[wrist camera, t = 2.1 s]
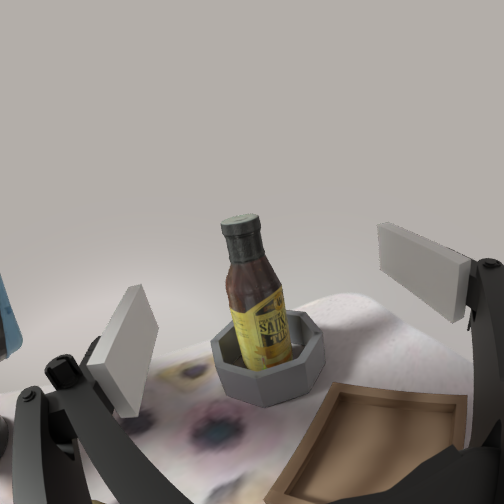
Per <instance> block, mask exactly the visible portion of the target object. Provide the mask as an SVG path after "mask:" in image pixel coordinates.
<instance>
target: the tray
mask: <svg viewBox="0 0 504 504" xmlns="http://www.w3.org/2000/svg"><path fill="white" fill-rule="evenodd" d="M466 416H467V395H446V394H428V393H415V392H404V391H394V390H385V389H377V388H369V387H362V386H355V385H349V384H343V383H337V382H333V383H332V385H331V387H330V389H329V391H328V393H327V395H326V397H325V399H324V401H323V403H322V405H321V407H320V408H319V410H318V412H317V414H316V416H315V418H314V420H313V421H312V423H311V425H310V427H309V429H308V430H307V432H306V434H305V436H304V437H303V439H302V441H301V442H300V444H299V446H298V447H297V449H296V451H295V452H294V454H293V456H292V457H291V459H290V460H289V462H288V464H287V465H286V467H285V468H284V470H283V471H282V473H281V474H280V476H279V477H278V479H277V480H276V482H275V483H274V485H273V486H272V488H271V489H270V491H269V492H268V494H267V495H266V496H265V498H264V499H263V500H264V502H265V503H266V504H327V503H330V502H333V501H336V500H339V499H343V498H350V497H356V496H362V495H368V494H373V493H378V492H382V491H386V490H388V489H390V488H391V487H393V486H394V485H395V484H397V483H398V482H399V481H400V480H402V479H403V478H404V477H405V476H407V475H408V474H409V473H410V472H411V471H413V470H414V469H415V468H416V467H417V466H418V465H419V464H421V463H422V462H424V461H426V460H427V459H429V458H431V457H432V456H434V455H436V454H437V453H439V452H441V451H442V450H444V449H446V448H447V447H449V446H450V445H452V444H453V445H454V446H455V447H456V449H457V450H458V451H459V450H463V447H464V438H465V429H466Z"/></svg>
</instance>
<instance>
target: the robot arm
mask: <svg viewBox="0 0 504 504" xmlns="http://www.w3.org/2000/svg"><path fill="white" fill-rule="evenodd" d="M377 228H378V241H379V258H380V270H381V271H383V272H384V273H386V274H387V275H388V276H390V277H391V278H393V279H394V280H395V281H397V282H398V283H399V284H401V285H402V286H404V287H405V288H406V289H408V290H409V291H410V292H412V293H413V294H414V295H416V296H417V297H419V298H420V299H421V300H422V301H424V302H425V303H426V304H428V305H429V306H430V307H432V308H433V309H434V310H436V311H437V312H438V313H439V314H441V315H442V316H443V317H444V318H446V319H447V320H448V321H450V322H451V323H454V322H456V321H458V320H460V319H462V318H463V317H464V313H465V306H466V305H467V306H469V307H470V308H471V313H470V319H469V324H468V329H467V331H469V330H470V327H471V332H472V343H473V344H472V345H473V363H474V403H473V422H472V433H471V440H470V444H469V447H468V448H466V449H463V450H459V451H458V450H457V449H456V447H455V446H454V445H453V444H452V445H450V446H449V447H447V448H446V449H444V450H442V451H441V452H439V453H437V454H436V455H434V456H432V457H431V458H429V459H427V460H426V461H424V462H422V463H421V464H419V465H418V466H417V467H416V468H415V469H414V470H413V471H411V472H410V473H409V474H408V475H407V476H405V477H404V478H403V479H402V480H400V481H399V482H398V483H397V484H395V485H394V486H393V487H391V488H390V489H388V490H386V491H382V492H378V493H373V494H368V495H362V496H356V497H350V498H343V499H339V500H336V501H333V502H330V503H327V504H504V265H503V264H502V263H501V262H500V261H498V260H495V259H490V258H485V259H481V260H479V261H478V262H477V261H475V260H472V259H471V258H469V257H467V256H465V255H463V254H462V255H461V254H460V253H458V252H455V251H454V250H452V249H450V248H447V247H444V246H442V245H440V244H438V243H436V242H433V241H431V240H429V239H427V238H424V237H422V236H420V235H418V234H415V233H413V232H411V231H408V230H406V229H404V228H401V227H399V226H396V225H394V224H392V223H389V222H386V223H382V224H379V225H377ZM158 329H159V327H158V325H157V322H156V320H155V318H154V315H153V313H152V310H151V308H150V305H149V303H148V300H147V297H146V295H145V292H144V290H143V287H142V285H141V284H140V285H136V286H132V287H129V288H128V289H127V291H126V293H125V295H124V296H123V298H122V300H121V301H120V303H119V305H118V307H117V308H116V310H115V312H114V314H113V315H112V317H111V319H110V321H109V323H108V325H107V327H106V328H105V330H104V332H103V334H102V336H98V337H97V338H96V339H95V340H94V341H93V342H92V343H91V345H90V347H89V349H88V351H87V352H86V354H85V357H84V358H83V360H82V362H81V364H80V365H79V366H78V365H77V363H76V361H75V359H74V358H73V356H71V355H68V354H65V355H60V356H59V357H56V358H54V359H53V360H52V361H51V362H49V363H48V365H47V366H46V368H45V374H46V376H47V377H48V379H49V380H50V382H51V383H52V385H53V386H54V388H55V389H56V391H54V392H51V393H48V394H44V393H43V391H42V390H41V388H40V387H38V386H31V387H29V388H26V389H24V391H22V392H21V394H20V395H19V396H18V399H17V403H16V411H15V420H14V431H13V447H12V489H13V504H92V501H91V497H90V494H89V490H88V486H87V483H86V479H85V475H84V471H83V466H82V462H81V457H80V452H79V447H78V441H77V438H79V440H80V442H81V444H82V445H83V447H84V449H85V451H86V453H87V454H88V456H89V458H90V459H91V461H92V463H93V465H94V466H95V468H96V469H97V471H98V473H99V474H100V476H101V477H102V479H103V480H104V482H105V483H106V485H107V486H108V488H109V489H110V491H111V492H112V494H113V495H114V497H115V498H116V499H117V501H118V502H119V503H120V504H194V503H192V502H191V501H190V500H189V499H188V498H187V497H186V496H185V495H183V494H182V493H181V492H180V491H179V490H178V489H177V488H176V487H175V486H174V485H173V484H172V483H171V482H170V481H169V480H168V479H167V478H166V477H165V476H164V475H163V474H162V473H161V472H160V471H159V470H158V469H157V468H156V467H155V466H154V465H153V464H152V463H151V462H150V461H149V460H148V458H147V457H146V456H145V455H144V454H143V453H142V452H141V451H140V449H139V448H138V447H137V446H136V445H135V444H134V442H133V441H132V440H131V439H130V438H129V436H128V435H127V434H126V433H125V432H124V430H123V429H122V428H121V427H120V425H119V424H118V423H117V421H116V420H115V419H114V418H113V416H112V414H113V411H114V409H115V410H116V412H117V413H118V414H119V416H120V417H121V418H129V417H138V415H139V410H140V405H141V401H142V396H143V391H144V387H145V382H146V378H147V374H148V369H149V365H150V361H151V357H152V353H153V349H154V345H155V341H156V337H157V333H158ZM22 342H23V338H22V334H21V331H20V329H19V326H18V324H17V321H16V319H15V316H14V313H13V311H12V308H11V305H10V302H9V299H8V296H7V293H6V290H5V287H4V284H3V281H2V278H1V275H0V362H1V361H2V360H4V359H7V358H9V356H10V355H11V354H12V353H14V352H15V351H17V350H18V349H19V348H20V347H21V346H22ZM7 440H8V426H7V424H6V422H5V420H4V419H3V418H2V417H1V415H0V457H1V456H2V454H3V452H4V450H5V447H6V444H7Z"/></svg>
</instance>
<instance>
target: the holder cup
mask: <svg viewBox="0 0 504 504" xmlns="http://www.w3.org/2000/svg"><path fill="white" fill-rule="evenodd" d="M286 315H287V320H288V327H289V334H290V340H291V343H295V344H301V345H304V346H305V348H304V350H303V351H302V353H301V354H300V356H299V357H298V358H297V359H295V360H292V361H289V362H286V363H283V364H280V365H277V366H274V367H271V368H268V369H265V370H261V371H258V372H256V371H253V370H249V369H245V368H241V367H238V366H234V365H232V364H233V363H234V362H235V361H236V360H237V359H238V358H239V356H240V355H241V350H240V346H239V342H238V338H237V334H236V330H235V327H234V323H233V320H232V321H231V322H230V323H229V324H228V325H227V326H226V327H225V328H224V329H223V330H222V331H221V332H220V333H219V334H217V335H216V336H215V337H214V338H213V339H212V340H211V341H210V342H211V347H212V352H213V357H214V362H215V367H216V370H217V372H218V375H219V377H220V380H221V383H222V385H223V388H224V390H225V393H226V395H227V396H230V397H233V398H235V399H238V400H241V401H244V402H247V403H250V404H253V405H257V406H260V407H263V408H266V407H269V406H272V405H275V404H278V403H281V402H284V401H287V400H290V399H293V398H296V397H298V396H301V395H304V394H307V393H309V391H310V390H311V388H312V386H313V384H314V383H315V381H316V379H317V377H318V375H319V374H320V372H321V370H322V368H323V366H324V364H325V353H324V342H323V332H322V331H321V330H320V329H319V328H318V326H317V325H316V324H315V323H314V322H313V320H312V319H311V318H310V317H309V316H308V314H307V313H306V312H300V311H292V310H286Z"/></svg>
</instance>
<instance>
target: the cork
mask: <svg viewBox="0 0 504 504" xmlns="http://www.w3.org/2000/svg"><path fill="white" fill-rule="evenodd" d="M91 501H92V504H105V503H102V502H100V501H97V500H91Z"/></svg>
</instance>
